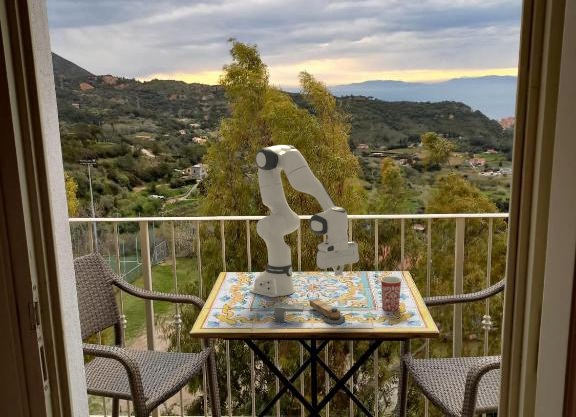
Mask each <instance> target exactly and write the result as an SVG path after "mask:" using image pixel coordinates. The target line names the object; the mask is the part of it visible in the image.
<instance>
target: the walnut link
mask: <svg viewBox="0 0 576 417" xmlns="http://www.w3.org/2000/svg"><path fill="white" fill-rule="evenodd" d="M309 307H310V308H313V309H314V310H315V311H317V312H319V313H321V314H323V315H324V316H327V317H329V319H333V320H337V319H340V315H341V310H340V309H338V308H337V307H333V306H331V305H330V304H328V303H326V302H324V301H322V300H321V299H319V298H314V299H309Z"/></svg>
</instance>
